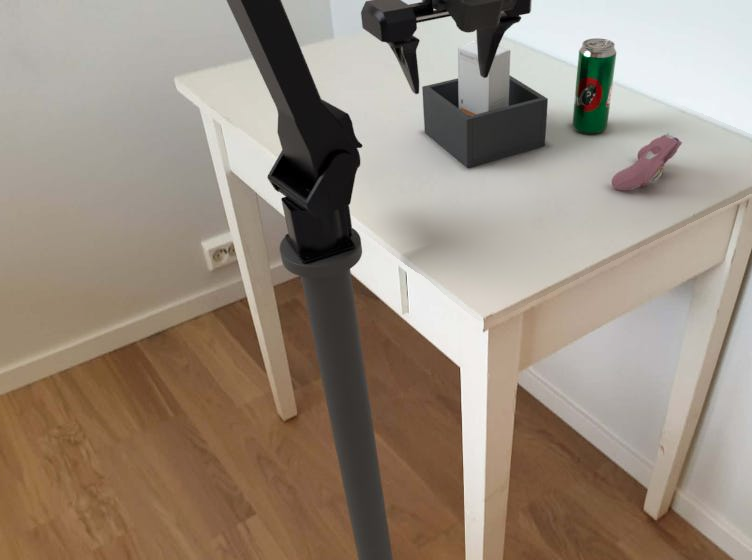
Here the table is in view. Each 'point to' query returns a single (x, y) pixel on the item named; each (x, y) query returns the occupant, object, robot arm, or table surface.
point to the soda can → (594, 85)
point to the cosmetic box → (482, 81)
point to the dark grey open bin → (485, 123)
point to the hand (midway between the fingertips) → (450, 84)
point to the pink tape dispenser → (647, 163)
